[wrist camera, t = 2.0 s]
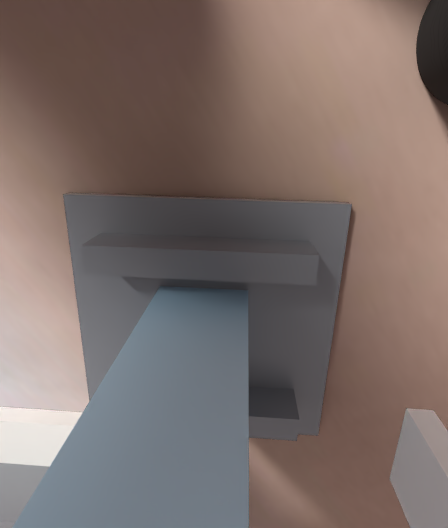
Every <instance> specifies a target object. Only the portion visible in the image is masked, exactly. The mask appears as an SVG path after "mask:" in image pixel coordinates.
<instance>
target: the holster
mask: <svg viewBox="0 0 448 528" xmlns="http://www.w3.org/2000/svg"><path fill="white" fill-rule="evenodd" d="M63 197H64V205H65V213H66V220H67V228H68V236H69V244H70V252H71V260H72V267H73V275H74V283H75V291H76V299H77V307H78V314H79V322H80V330H81V338H82V346H83V354H84V361H85V369H86V377H87V385H88V393H89V401H90V400H91V398H92V397H93V395H94V393H95V392H96V390H97V388H98V387H99V385H100V383H101V382H102V380H103V379H104V377H105V375H106V374H107V372H108V370H109V369H110V367H111V366H112V364H113V362H114V361H115V359H116V357H117V356H118V354H119V352H120V351H121V349H122V348H123V346H124V344H125V343H126V341H127V339H128V338H129V336H130V334H131V333H132V331H133V330H134V328H135V326H136V325H137V323H138V321H139V320H140V318H141V316H142V315H143V313H144V312H145V310H146V308H147V307H148V305H149V303H150V302H151V300H152V299H153V297H154V295H155V294H156V292H157V290H158V289H159V287H160V286H168V287H189V288H210V289H231V290H248V387H249V438H263V439H277V440H292V441H297V436H298V434H301V435H316V436H318V433H319V426H320V419H321V412H322V405H323V398H324V392H325V385H326V378H327V371H328V364H329V357H330V350H331V344H332V337H333V330H334V323H335V316H336V309H337V303H338V296H339V289H340V282H341V275H342V268H343V261H344V255H345V248H346V241H347V234H348V227H349V220H350V214H351V207H352V204H350V203H349V202H325V201H296V200H266V199H237V198H208V197H179V196H150V195H120V194H91V193H66V194H63Z"/></svg>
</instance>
